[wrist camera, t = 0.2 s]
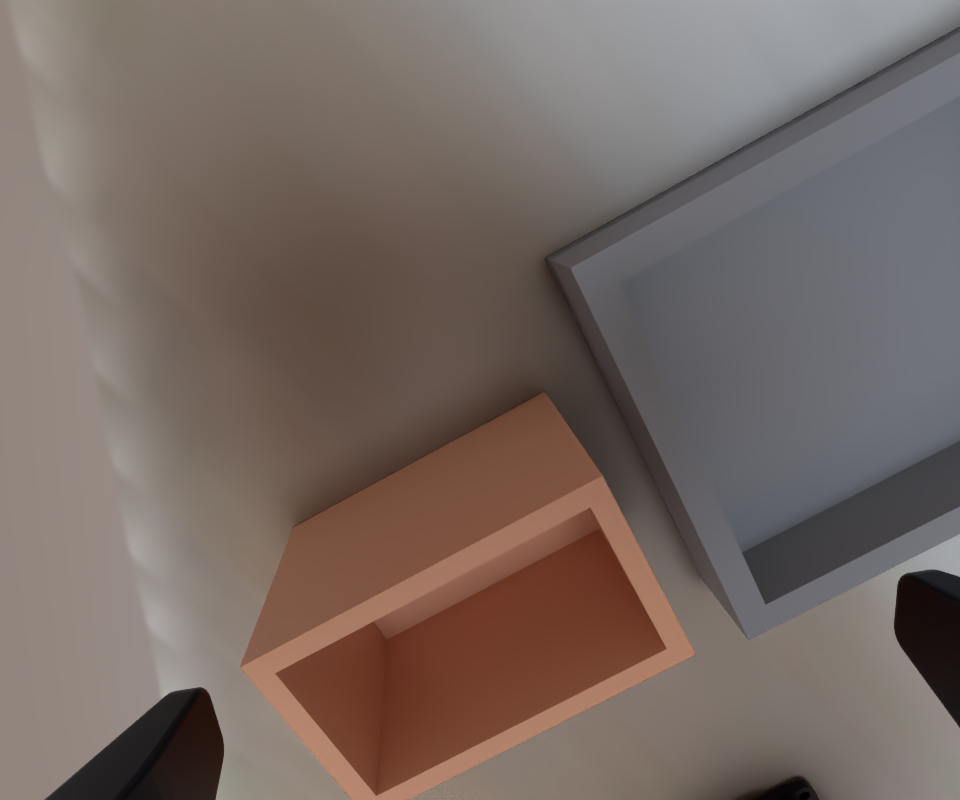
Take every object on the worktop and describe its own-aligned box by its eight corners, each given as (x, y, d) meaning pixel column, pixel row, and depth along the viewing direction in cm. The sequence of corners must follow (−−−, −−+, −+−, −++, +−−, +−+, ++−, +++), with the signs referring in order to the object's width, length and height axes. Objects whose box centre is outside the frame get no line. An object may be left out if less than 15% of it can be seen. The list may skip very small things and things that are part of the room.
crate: (1087, 383, 23) (1199, 413, 20) (702, 580, 24) (748, 640, 21) (1007, -1, 19) (1133, -44, 16) (544, 257, 20) (570, 268, 17)
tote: (615, 525, 23) (695, 654, 16) (382, 647, 24) (368, 819, 17) (544, 391, 21) (602, 475, 15) (293, 527, 22) (240, 667, 15)
